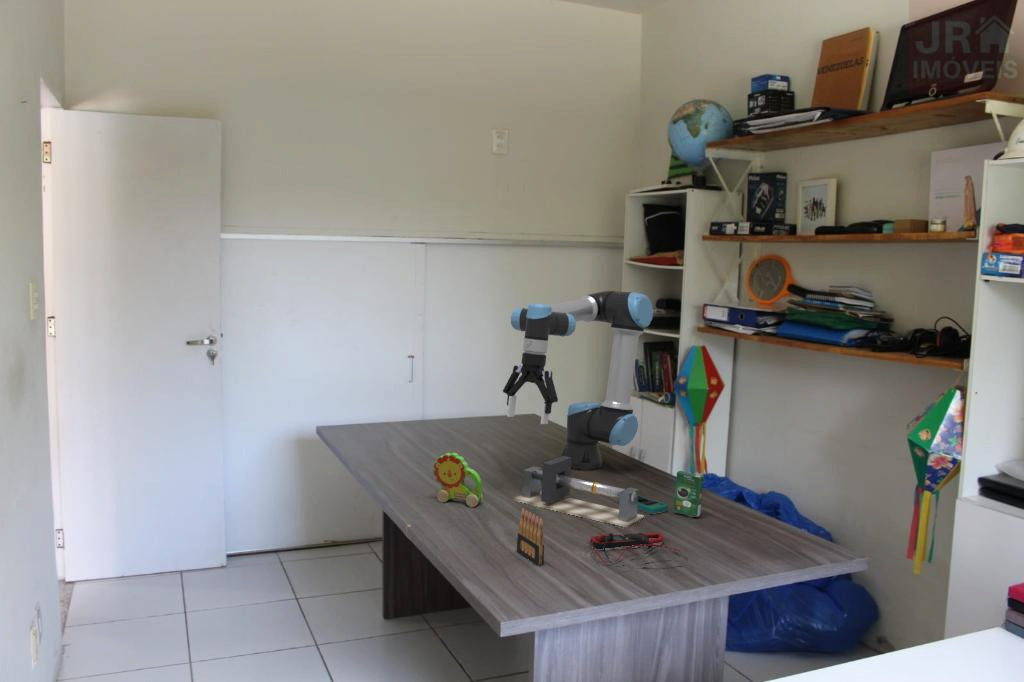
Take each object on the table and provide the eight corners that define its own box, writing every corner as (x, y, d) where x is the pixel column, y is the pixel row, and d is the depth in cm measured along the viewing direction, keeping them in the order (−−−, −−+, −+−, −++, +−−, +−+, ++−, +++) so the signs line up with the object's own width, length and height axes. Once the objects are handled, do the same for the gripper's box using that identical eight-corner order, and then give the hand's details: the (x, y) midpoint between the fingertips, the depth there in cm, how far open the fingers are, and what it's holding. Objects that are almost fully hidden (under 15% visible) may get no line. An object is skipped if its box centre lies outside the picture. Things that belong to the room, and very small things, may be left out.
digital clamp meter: (575, 529, 230) (659, 523, 237) (574, 545, 230) (658, 539, 237) (609, 560, 207) (701, 553, 214) (608, 578, 208) (699, 570, 215)
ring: (541, 501, 259) (542, 463, 258) (561, 492, 269) (563, 455, 267) (549, 503, 257) (551, 464, 256) (569, 494, 267) (571, 457, 266)
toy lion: (483, 503, 261) (485, 455, 259) (476, 508, 256) (478, 459, 254) (437, 496, 267) (438, 448, 265) (429, 500, 262) (431, 452, 260)
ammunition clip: (516, 551, 222) (518, 507, 220) (522, 550, 222) (524, 506, 221) (537, 566, 212) (539, 519, 211) (543, 564, 213) (546, 518, 212)
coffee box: (701, 517, 257) (704, 475, 255) (697, 519, 254) (700, 476, 253) (676, 511, 261) (679, 469, 260) (672, 513, 259) (675, 471, 257)
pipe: (522, 496, 267) (523, 469, 266) (532, 492, 271) (533, 465, 270) (627, 522, 246) (629, 492, 245) (636, 517, 251) (638, 488, 250)
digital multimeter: (632, 500, 272) (632, 491, 272) (668, 513, 261) (668, 503, 261) (616, 504, 267) (617, 495, 267) (652, 517, 256) (653, 507, 256)
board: (513, 500, 265) (513, 497, 265) (534, 492, 275) (535, 489, 275) (625, 528, 243) (625, 525, 243) (644, 518, 253) (644, 515, 253)
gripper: (496, 347, 270) (489, 413, 271) (559, 357, 254) (551, 427, 255) (511, 348, 276) (504, 413, 277) (573, 358, 260) (566, 426, 261)
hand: (527, 420), depth 266 cm, fingers open, 13 cm apart
